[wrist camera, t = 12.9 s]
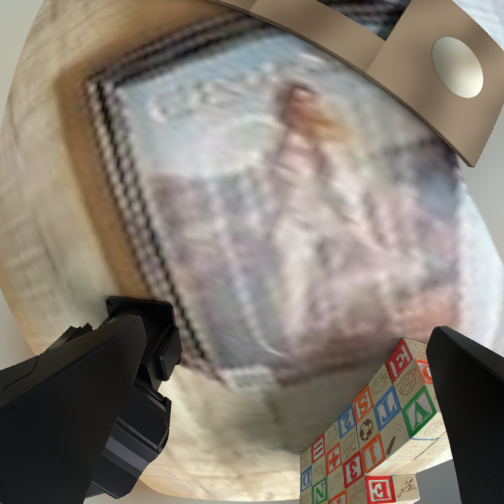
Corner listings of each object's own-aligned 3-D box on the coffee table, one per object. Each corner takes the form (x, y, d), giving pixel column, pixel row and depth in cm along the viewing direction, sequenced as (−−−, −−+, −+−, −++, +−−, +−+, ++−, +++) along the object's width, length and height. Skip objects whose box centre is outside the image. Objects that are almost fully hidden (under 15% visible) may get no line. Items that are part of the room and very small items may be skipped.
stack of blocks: (401, 334, 23) (453, 444, 11) (446, 347, 23) (498, 440, 11) (299, 455, 30) (297, 537, 19) (340, 461, 30) (346, 537, 19)
